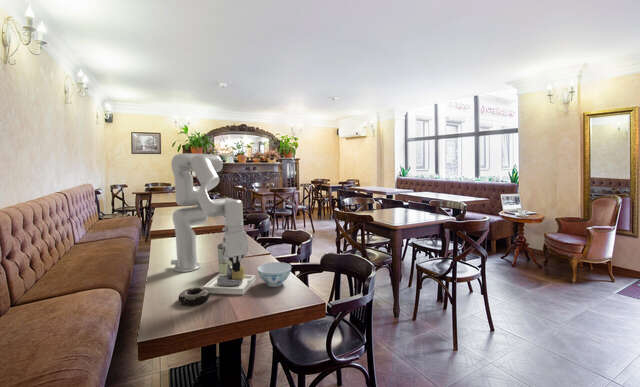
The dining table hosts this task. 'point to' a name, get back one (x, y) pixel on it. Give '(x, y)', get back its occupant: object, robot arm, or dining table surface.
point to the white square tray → (239, 289)
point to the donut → (193, 296)
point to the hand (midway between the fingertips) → (236, 270)
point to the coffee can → (222, 260)
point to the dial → (231, 278)
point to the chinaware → (274, 273)
